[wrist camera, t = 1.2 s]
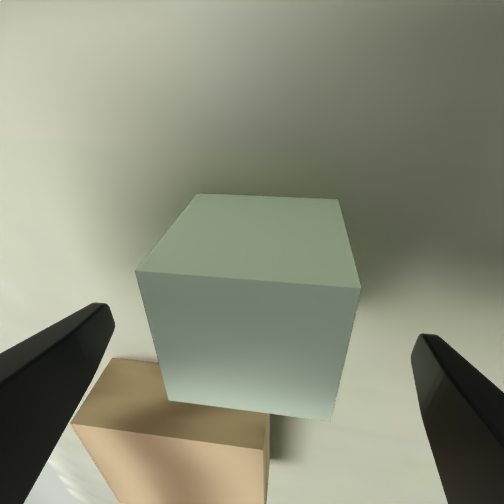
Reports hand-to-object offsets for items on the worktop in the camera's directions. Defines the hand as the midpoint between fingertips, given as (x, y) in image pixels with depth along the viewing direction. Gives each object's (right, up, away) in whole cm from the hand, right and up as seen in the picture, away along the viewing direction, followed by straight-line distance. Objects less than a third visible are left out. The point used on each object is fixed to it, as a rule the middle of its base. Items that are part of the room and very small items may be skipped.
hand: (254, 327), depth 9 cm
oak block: (-3, -8, +10) cm, 13 cm away
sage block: (0, +2, +3) cm, 4 cm away
